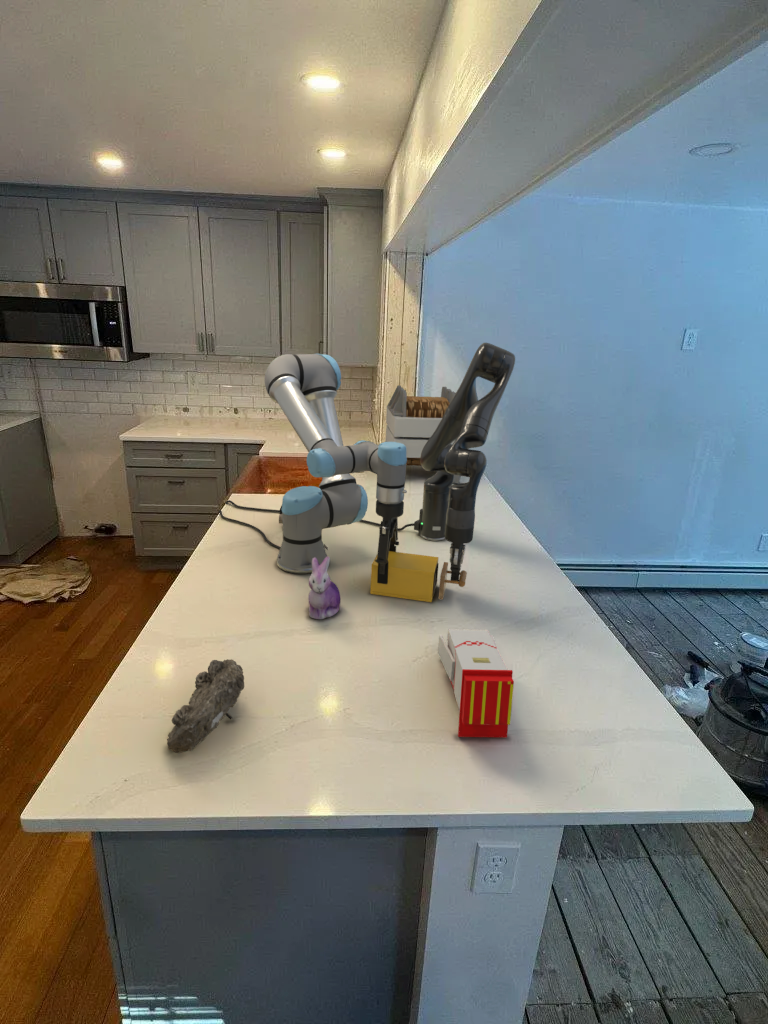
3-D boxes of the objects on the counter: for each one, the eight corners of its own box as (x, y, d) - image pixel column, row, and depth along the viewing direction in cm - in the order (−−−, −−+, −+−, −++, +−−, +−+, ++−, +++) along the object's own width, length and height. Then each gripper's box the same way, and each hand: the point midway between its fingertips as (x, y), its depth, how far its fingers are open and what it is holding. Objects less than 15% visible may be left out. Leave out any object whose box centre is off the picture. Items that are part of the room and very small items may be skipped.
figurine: (313, 624, 141) (313, 569, 135) (299, 605, 149) (299, 553, 144) (348, 616, 145) (349, 563, 140) (333, 598, 153) (333, 547, 148)
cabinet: (436, 585, 164) (438, 557, 161) (431, 602, 154) (434, 572, 151) (378, 577, 167) (379, 549, 164) (370, 593, 157) (371, 564, 154)
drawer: (465, 587, 161) (467, 564, 159) (463, 602, 153) (465, 578, 150) (391, 577, 165) (393, 555, 163) (385, 591, 157) (386, 568, 154)
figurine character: (297, 533, 199) (302, 514, 212) (296, 514, 196) (301, 496, 209) (278, 533, 199) (284, 514, 212) (277, 514, 195) (283, 495, 209)
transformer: (382, 463, 289) (386, 382, 275) (445, 464, 293) (451, 384, 279) (390, 482, 257) (394, 392, 243) (460, 483, 261) (468, 394, 247)
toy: (488, 613, 130) (523, 677, 101) (484, 667, 133) (517, 744, 104) (435, 612, 130) (455, 676, 101) (432, 666, 133) (451, 743, 103)
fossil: (192, 660, 117) (244, 628, 112) (224, 691, 120) (276, 661, 115) (142, 746, 98) (202, 712, 93) (182, 779, 101) (242, 748, 96)
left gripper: (395, 515, 141) (391, 594, 149) (410, 489, 162) (406, 559, 170) (366, 512, 143) (363, 591, 150) (385, 486, 164) (381, 556, 171)
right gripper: (472, 533, 144) (466, 594, 150) (475, 516, 156) (469, 573, 162) (443, 529, 145) (438, 590, 151) (448, 513, 157) (443, 569, 163)
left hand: (386, 574), depth 160 cm, fingers closed on cabinet, 10 cm apart
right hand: (454, 581), depth 156 cm, fingers closed
